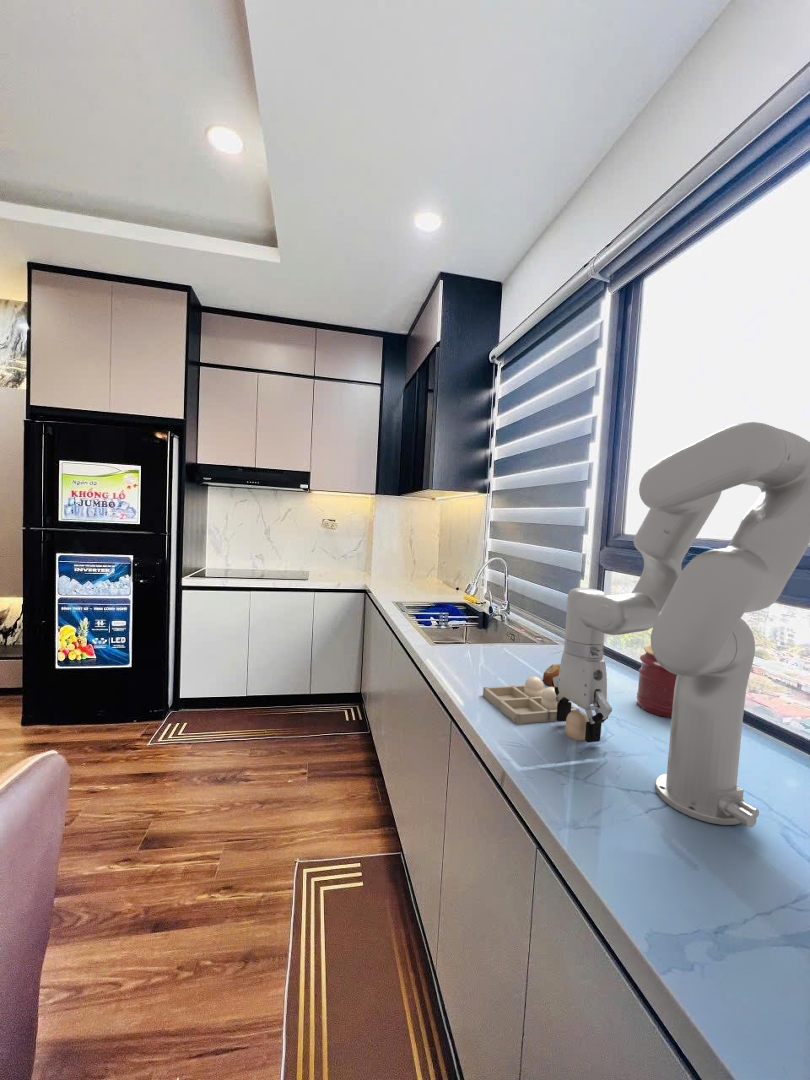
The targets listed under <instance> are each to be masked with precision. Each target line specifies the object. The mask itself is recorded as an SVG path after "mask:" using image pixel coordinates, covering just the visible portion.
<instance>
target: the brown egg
mask: <svg viewBox="0 0 810 1080" xmlns="http://www.w3.org/2000/svg"><path fill="white" fill-rule="evenodd" d="M586 722H589V720H588V717H587V714H586V712H583V711H582V710H580V711H578V710H575V711H572V712H570V713H569V714H568V715H567V718H566V721H565V729H564V733H565V735H566V737H568V738H569V739H572V740H575V741H581V742H583V741H584V742H586V741H585V732H586Z"/></svg>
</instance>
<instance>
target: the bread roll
mask: <svg viewBox="0 0 810 1080" xmlns="http://www.w3.org/2000/svg"><path fill="white" fill-rule="evenodd" d="M560 664H561V663H554V664H551V665H550V666H549V667H547V669H545V671H544V672H543V676H542V681H543V683H545V685H547V686H548V687H554V683H553V677H556V676H559V670H560Z"/></svg>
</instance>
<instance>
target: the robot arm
mask: <svg viewBox="0 0 810 1080" xmlns="http://www.w3.org/2000/svg"><path fill="white" fill-rule="evenodd" d="M740 485H747V486H752V487H757V488H759V489H760V494H759V497H758V499H756V501H755V502H754V504H753V505H752V506H751V507H749V509H748V511H747V512H746V513H745V515H744V516H743V517H742V519H741V522H740V523H739V526H738V528H737V530H736V532H735V534H733V537H732V539H730V541H729V543H728V545H727V546H726V547H725V548H714V549H710V550H706V551H703V552H702V553H698V555H696V556H695V557H693V558H691V559H690V561H688V562H687V564H686V565H685V566H684V567H683V566H682V564H683V560H684V558H685V557H686V555H687V553H688V552H689V549H690V548H691V547H692V545H693V543H694V542H695V540H696V538H697V537H698V535H699V534H700V532H701V529H703V526H704V525H705V524H706V522H707V520H708V519H709V517H710V515H711V513H712V512H713V511H714V509H715V507H716V505H717V504H718V502H719V500H720V498H721V494H722V492H723V491H725V490H728V489H731V488H734V487H737V486H740ZM638 492H639V494H638V495H639V496H640V499H641V501H642V503H643V504H644V505H645V506H646V507H647V508H649V510H648V512H647V514H646V515H645V518H644V520H642V522H641V525H640V527H639V528H638V531H637V532H636V534H635V535H634V538H633V545H634V547H635V549H636V550H637V551H638V552H639V553H640V554H641V556H642V559H643V569H642V571H641V572H642V573H641V575H640V576H639V577H640V578H639V579H638V581H637V583H636V584H635V586H634V588H633V589H632V592H630V593H628V592H627V593H617V594H606V593H605V592H604V591H602V590H600V589H594V588H588V587H576V588H575V587H574V588H571V589H570V590H569V592H568V595H567V605H566V613H565V614H566V617H565V629H564V631H565V632H564V643H563V651H562V656H561V658H560V659H561V660H560V663H559V664H560V670H559V676H556V677H553V683H554V687H555V688H554V690H555V693H556V696H557V697H556V701H557V702H559V703H557V716H556V720H557V723H559V722H566V718H567V715H568V714H569V713H570V712H571V704H572V703H573V704H575V705H576V706H578V707H579V708H582V709H583V710H584V712H585V714H586V715H587V717H588V720H589V722H586V732H585V741H584V742H586V743H588V744H589V743H597V742H601V732H602V724H604V723H605V721H607V720H608V718H609V717H610V715H611V713H612V711H613V707H612V706H611V705H610V703H609V702H608V700H607V699H608V698H607V697H608V696H607V695H608V683H607V682H608V678H607V666H606V661H605V659H603V658H604V657H603V656H604V655H605V652H604V647H605V646H604V645H605V644H604V642H605V634H606V635H609V636H620V635H626V634H627V635H628V634H633V633H639V632H646V631H649V630H650V629H652V630H651V633H650V646H651V648H652V652H653V654H654V656H655V658H656V660H657V661H658V663H659V664H660V665H661V666H662V667H663V668H665V669H666V670H667V671H669V672H671V673H673V674H676V675H677V677H676V682H675V688H674V698H673V708H672V718H670V719H671V721H670V731H669V732H670V733H669V734H670V735H669V744H668V756H667V770H666V773H663V774H660V775H659V776H657V777H656V779H655V781H654V782H655V784H654V785H655V787H654V788H655V791H656V793H657V794H658V796H659V797H660V799H661V800H663V802H665V804H666V803H667V804H668V805H669V806H670V807H672V808H673V809H674V810H677V811H679V812H680V813H682V814H684V815H687V816H689V817H691V818H693V819H696V820H698V821H703V822H705V823H710V824H714V825H721V826H735V825H739V824H741V823H742V824H743V825H745V826H746V827H747V828H754V827H755V825H756V823H757V818H758V817H759V815H760V811H759V809H757V808H756V807H754V806H752V805H751V804H748V803H747V802H745V800H744V798H743V797H744V791H745V790H744V789H743V787H740V786H739V785H738V776H739V775H738V773H739V765H740V762H739V761H740V755H741V753H740V752H741V741H742V733H743V732H742V730H743V720H744V712H745V705H746V694H747V688H748V682H749V680H750V679H749V678H750V676H751V675H750V674H751V671H752V666H753V662H754V660H755V659H754V658H755V653H756V641H755V636H754V633H753V631H752V630H751V628H750V626H749V625H748V623H747V622H746V621H745V620H743V618H742V617H743V616H744V614H745V613H752V612H758V611H761V610H765V609H767V608H769V607H770V606H772V605H773V604H774V603H775V602H776V601H777V600H778V598H779V597H780V596H781V594H782V593H783V590H784V589H785V586H786V585H787V583H788V581H789V580H790V578H791V577H792V575H793V573H794V571H795V569H796V568H797V566H798V565H799V563H800V561H801V560H802V558H803V556H804V554H805V553H806V551H807V549H808V547H809V545H810V441H809V440H807V439H806V438H804V437H803V436H800V435H798V434H796V433H794V432H791V431H788V430H785V429H781V428H778V427H775V426H773V425H769V424H767V423H763V422H755V421H748V422H747V421H745V422H740V423H737V424H736V423H735V424H732V425H728V426H727V427H725V428H722V429H720V430H718V431H716V432H713V433H712V434H709V435H707V436H705V437H704V438H702V439H699V440H698V441H697V440H696V442H694V443H691V444H690V445H687V446H686V447H683V448H681V449H679V450H677V451H675V452H673V453H671V454H668V455H667V456H665V457H663V458H661V459H659V460H658V461H657V462H655V463H654V464H652V465H651V466H650V467H649V468H648V469H647V470H646V471H645V473H644V474H643V475H642V477H641V480H640V482H639V486H638ZM682 567H683V569H682ZM593 711H594V712H595V715H594V713H593Z"/></svg>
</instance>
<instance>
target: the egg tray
mask: <svg viewBox="0 0 810 1080" xmlns="http://www.w3.org/2000/svg"><path fill="white" fill-rule="evenodd" d="M545 688H546V687H545V686H544V689H545ZM524 689H525V684H519V685H518V684H517V685H504V686H503V685H501V686H488V687H487V686H486V687H483V690H482V692H483V693H482V695H483V697H484V698H485V699H487V701H488V702H490V703H491V704H493V706H495V707H496V708H497V709H498V710H500V711H501V713H503V714H504V715H505V716H507V717H508V718H509V719H510V720H511V721H513V722H514V723H515V724H516V725H521V724H522V725H523V724H533V723H544V722H554V721H555V722H556V721H557V720H556V716H557V710H547V709H546V708H544V707H543V706H542V705H541V697H529V696H527V695H526V694H525V693H524ZM575 710H578V711H581V709H579V708H578V707H576V706H575V705H573V704H572V703H571V712H572V711H575ZM557 722H558V721H557Z"/></svg>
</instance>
